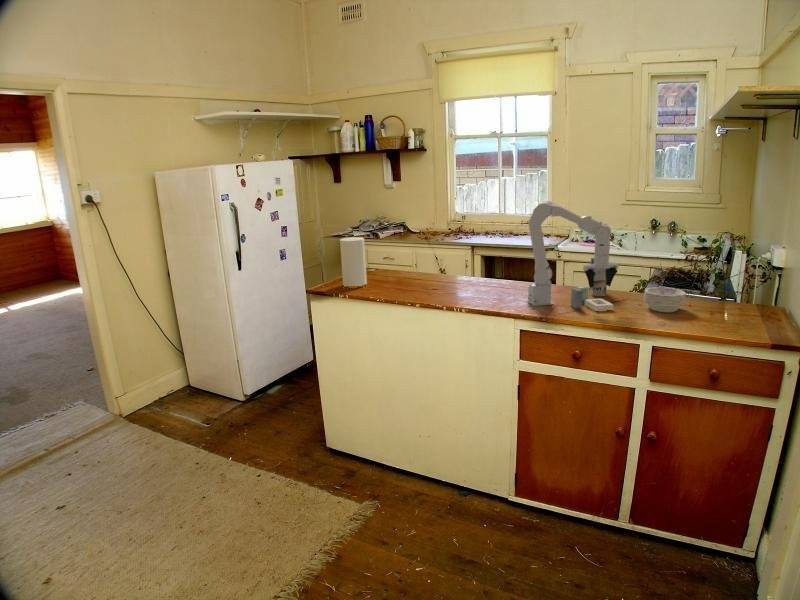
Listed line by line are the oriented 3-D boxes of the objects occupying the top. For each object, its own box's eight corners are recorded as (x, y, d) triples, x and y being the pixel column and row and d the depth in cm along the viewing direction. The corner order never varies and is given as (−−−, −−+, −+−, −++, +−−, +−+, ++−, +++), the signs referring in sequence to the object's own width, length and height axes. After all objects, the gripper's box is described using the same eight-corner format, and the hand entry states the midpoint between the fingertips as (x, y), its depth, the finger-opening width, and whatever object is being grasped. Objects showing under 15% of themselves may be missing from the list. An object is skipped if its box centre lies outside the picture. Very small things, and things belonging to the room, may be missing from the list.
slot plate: (595, 311, 217) (596, 305, 216) (584, 305, 226) (584, 299, 226) (612, 310, 218) (613, 304, 217) (600, 303, 227) (601, 298, 226)
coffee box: (606, 296, 238) (608, 261, 234) (591, 296, 240) (593, 261, 235) (603, 291, 247) (605, 257, 243) (588, 291, 248) (590, 257, 244)
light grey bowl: (677, 304, 222) (679, 286, 220) (689, 315, 207) (691, 296, 205) (639, 304, 225) (640, 286, 223) (647, 314, 211) (649, 295, 208)
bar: (576, 309, 221) (576, 290, 219) (570, 306, 226) (571, 288, 224) (581, 308, 222) (582, 290, 219) (576, 305, 226) (577, 287, 224)
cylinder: (368, 287, 273) (365, 239, 266) (344, 289, 270) (341, 241, 263) (364, 282, 284) (362, 236, 278) (341, 284, 282) (338, 238, 275)
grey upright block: (579, 302, 231) (580, 289, 229) (574, 299, 235) (575, 286, 234) (589, 301, 231) (589, 288, 230) (584, 299, 236) (585, 286, 234)
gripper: (589, 257, 211) (587, 289, 215) (623, 254, 213) (621, 287, 216) (581, 254, 218) (579, 285, 222) (614, 251, 220) (612, 283, 223)
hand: (599, 286), depth 219 cm, fingers open, 7 cm apart
